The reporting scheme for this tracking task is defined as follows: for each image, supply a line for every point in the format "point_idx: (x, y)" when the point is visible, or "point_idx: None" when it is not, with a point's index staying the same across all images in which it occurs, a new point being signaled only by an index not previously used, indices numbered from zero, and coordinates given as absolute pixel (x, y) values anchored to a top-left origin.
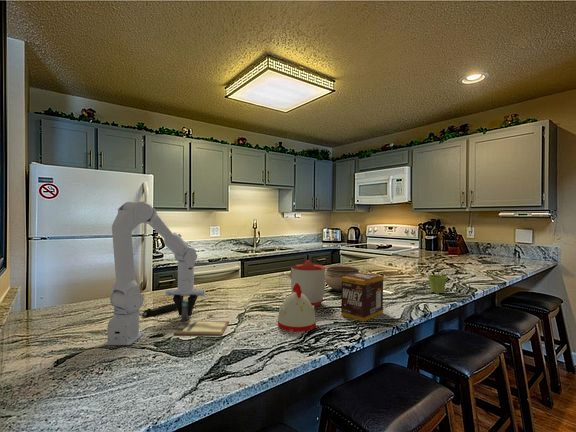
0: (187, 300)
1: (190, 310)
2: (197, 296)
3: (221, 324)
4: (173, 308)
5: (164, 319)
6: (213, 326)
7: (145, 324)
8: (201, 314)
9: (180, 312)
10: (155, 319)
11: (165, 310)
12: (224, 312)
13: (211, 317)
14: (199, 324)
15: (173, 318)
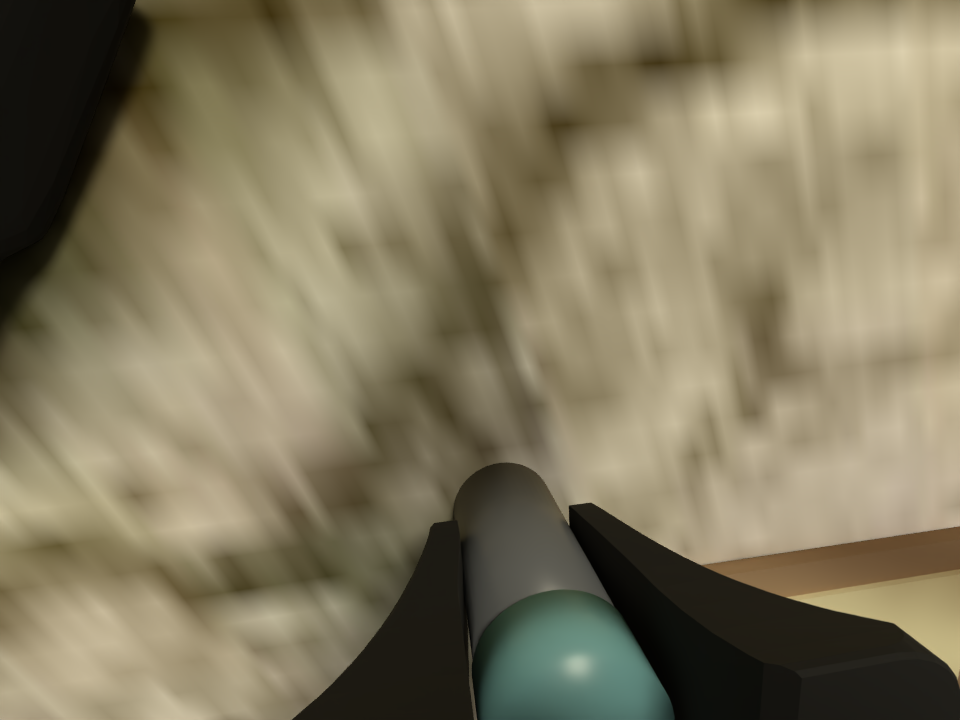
0: (598, 674)
1: None
2: (930, 717)
3: (934, 642)
4: (80, 107)
5: (221, 531)
6: None
7: (90, 716)
8: (636, 279)
9: (467, 633)
10: (93, 549)
11: (5, 253)
12: (918, 163)
13: (783, 382)
14: None
15: (322, 480)
